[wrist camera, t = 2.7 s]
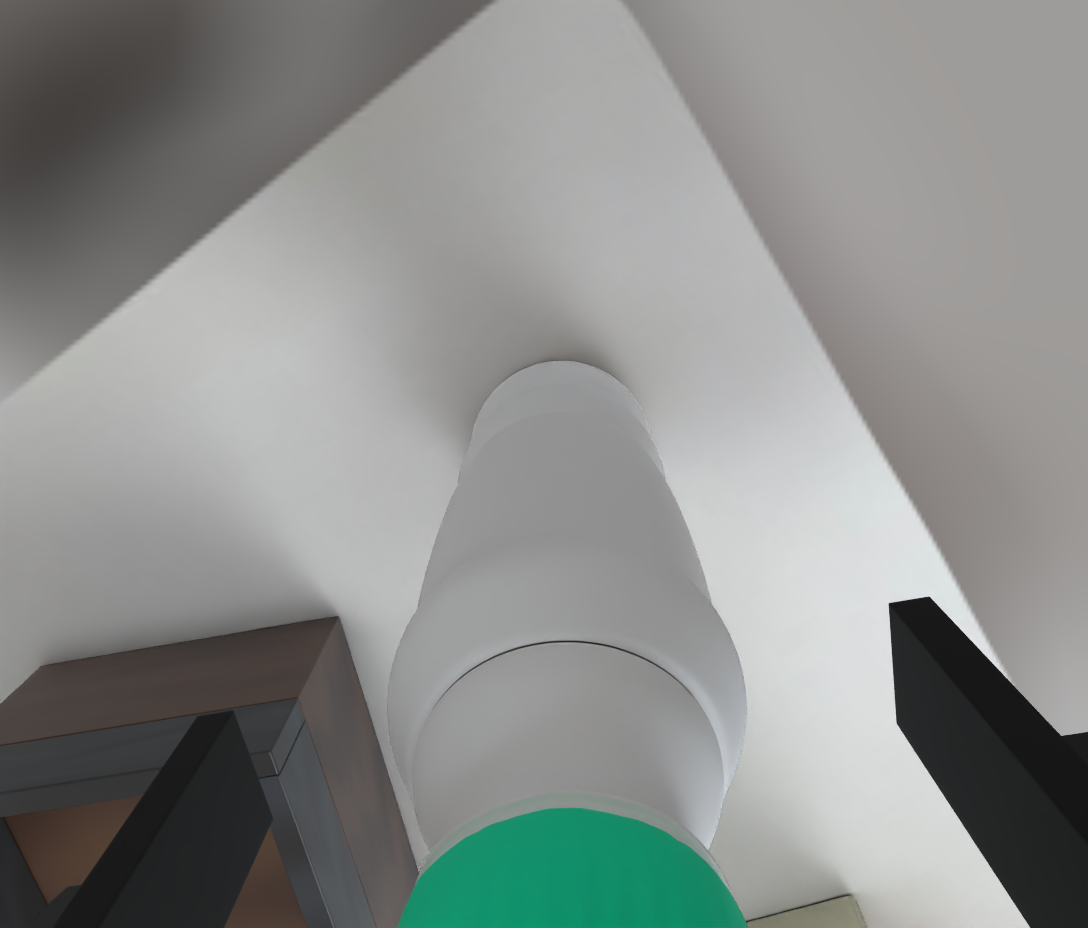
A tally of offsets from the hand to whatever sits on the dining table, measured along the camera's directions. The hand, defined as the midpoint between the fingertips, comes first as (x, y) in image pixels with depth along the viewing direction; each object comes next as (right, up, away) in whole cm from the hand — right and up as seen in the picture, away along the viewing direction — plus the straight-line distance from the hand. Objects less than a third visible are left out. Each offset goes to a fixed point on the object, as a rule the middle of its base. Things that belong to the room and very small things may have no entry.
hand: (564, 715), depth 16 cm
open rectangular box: (-15, -11, +23) cm, 29 cm away
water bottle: (0, +6, +17) cm, 18 cm away
